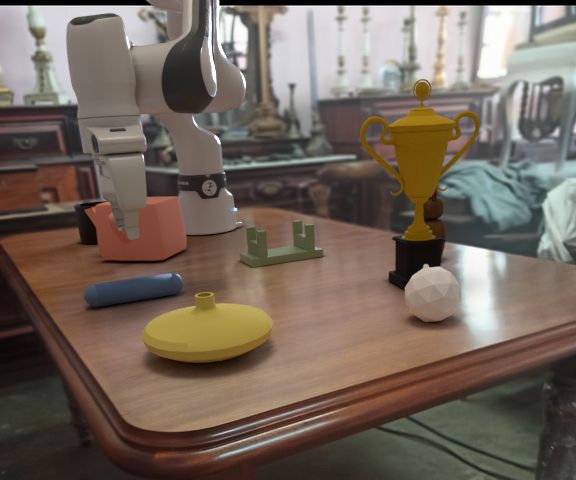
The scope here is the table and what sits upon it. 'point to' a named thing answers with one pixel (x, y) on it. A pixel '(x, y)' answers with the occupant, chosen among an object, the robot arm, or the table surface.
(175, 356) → the vase
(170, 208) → the teapot
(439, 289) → the ornament
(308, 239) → the holder
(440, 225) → the wooden figurine
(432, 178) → the trophy
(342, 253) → the table surface
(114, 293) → the handle
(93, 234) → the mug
